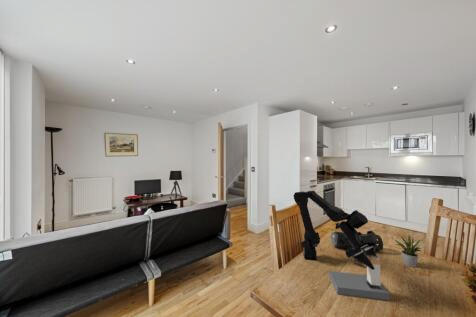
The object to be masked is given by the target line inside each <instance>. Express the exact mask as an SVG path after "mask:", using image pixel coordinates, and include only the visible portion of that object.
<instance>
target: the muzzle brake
mask: <svg viewBox="0 0 476 317" xmlns="http://www.w3.org/2000/svg"><path fill="white" fill-rule="evenodd" d="M376 235H377V236H376V239H377V242H378V244H376V245H374V246H376V249H375V252H380V251H383V248H384V242H383V238H382V237H381V236H380V235H379V234H376ZM346 238H347V237H346V236H345V235H344V233H343V232H342V231H336V230H335V231H332V232H331V233H330V240H331V245H332V246H335V247H337V248H343V249H346V250H348V249H350V248H352V247H353V246H352V244H351V243H350V242H349V240H348V241H347V240H346ZM374 246H373V247H374ZM363 251H365V250H364V249H363Z"/></svg>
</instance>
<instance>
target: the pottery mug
mask: <svg viewBox="0 0 476 317" xmlns="http://www.w3.org/2000/svg"><path fill="white" fill-rule="evenodd" d="M354 256H355V255H353V256H352V257H351V262H352V264H354V265H355V264H357V265H364V264H363V263H362V262H360V261H359V260H357V259H356V258H353V257H354ZM366 256H367V255H366Z"/></svg>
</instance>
